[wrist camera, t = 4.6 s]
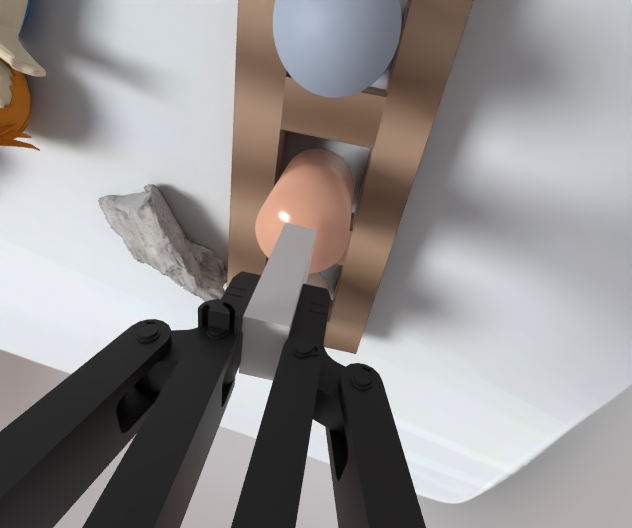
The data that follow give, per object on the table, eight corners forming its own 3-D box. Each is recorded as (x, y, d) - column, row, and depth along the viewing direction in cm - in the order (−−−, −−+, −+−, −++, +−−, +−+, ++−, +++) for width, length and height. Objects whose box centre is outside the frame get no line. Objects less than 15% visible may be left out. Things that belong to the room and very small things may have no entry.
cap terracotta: (287, 141, 23) (259, 180, 17) (362, 157, 23) (358, 201, 17) (279, 209, 26) (252, 263, 20) (346, 223, 26) (338, 281, 20)
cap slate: (309, -40, 18) (280, -70, 12) (404, -21, 18) (419, -42, 12) (296, 67, 21) (267, 84, 15) (379, 84, 21) (381, 108, 15)
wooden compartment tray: (261, -134, 19) (244, -158, 16) (491, -89, 19) (509, -107, 16) (235, 304, 36) (225, 325, 33) (357, 330, 35) (355, 353, 33)
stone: (190, 301, 37) (173, 330, 33) (96, 201, 31) (63, 224, 28) (241, 277, 34) (228, 305, 31) (148, 165, 29) (120, 185, 26)
